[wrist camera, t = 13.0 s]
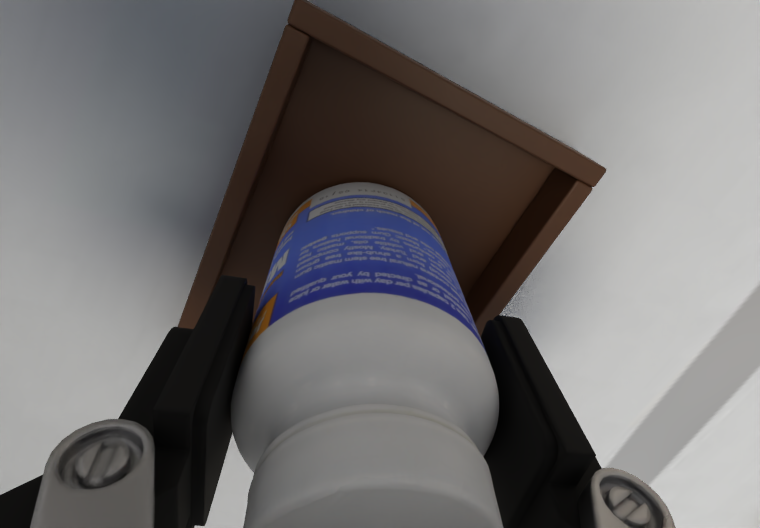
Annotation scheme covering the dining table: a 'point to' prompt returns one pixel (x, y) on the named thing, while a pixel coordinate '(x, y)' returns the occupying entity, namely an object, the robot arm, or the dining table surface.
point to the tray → (391, 163)
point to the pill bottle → (365, 375)
